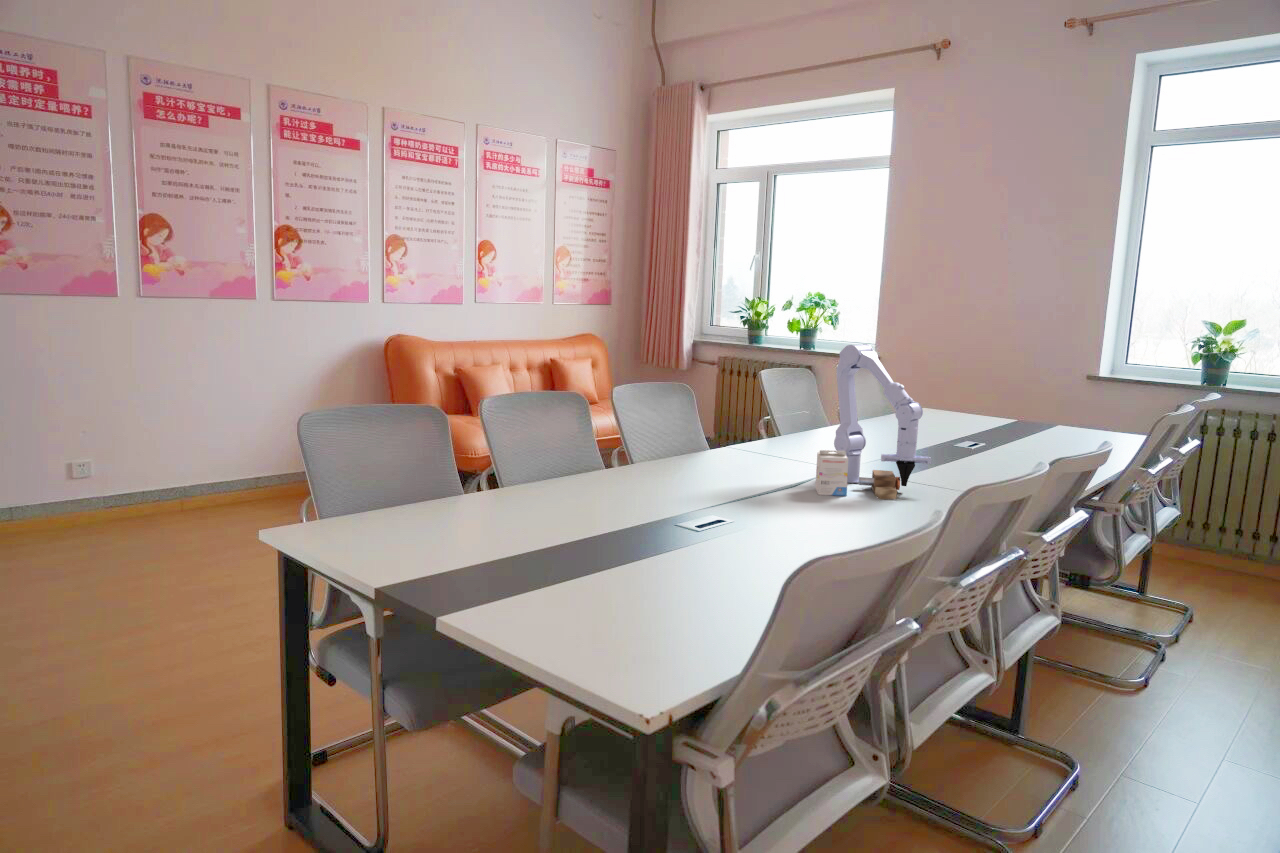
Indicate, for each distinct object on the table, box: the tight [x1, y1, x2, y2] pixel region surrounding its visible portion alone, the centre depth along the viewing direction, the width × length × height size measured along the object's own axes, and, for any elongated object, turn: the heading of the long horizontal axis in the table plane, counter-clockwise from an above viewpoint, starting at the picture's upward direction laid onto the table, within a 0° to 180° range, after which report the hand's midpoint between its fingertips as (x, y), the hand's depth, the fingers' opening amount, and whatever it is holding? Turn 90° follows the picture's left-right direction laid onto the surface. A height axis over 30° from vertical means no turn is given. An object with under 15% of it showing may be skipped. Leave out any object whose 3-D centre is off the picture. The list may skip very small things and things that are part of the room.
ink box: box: [815, 449, 848, 497], centre depth 259 cm, size 9×8×13 cm
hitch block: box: [871, 469, 897, 495], centre depth 264 cm, size 6×10×5 cm, turn 169°
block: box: [874, 487, 898, 500], centre depth 255 cm, size 5×4×3 cm
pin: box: [858, 476, 901, 491], centre depth 264 cm, size 12×4×4 cm, turn 79°
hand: (903, 485), depth 263 cm, fingers closed
